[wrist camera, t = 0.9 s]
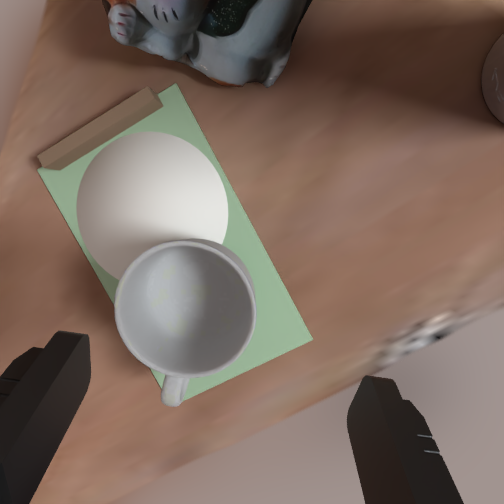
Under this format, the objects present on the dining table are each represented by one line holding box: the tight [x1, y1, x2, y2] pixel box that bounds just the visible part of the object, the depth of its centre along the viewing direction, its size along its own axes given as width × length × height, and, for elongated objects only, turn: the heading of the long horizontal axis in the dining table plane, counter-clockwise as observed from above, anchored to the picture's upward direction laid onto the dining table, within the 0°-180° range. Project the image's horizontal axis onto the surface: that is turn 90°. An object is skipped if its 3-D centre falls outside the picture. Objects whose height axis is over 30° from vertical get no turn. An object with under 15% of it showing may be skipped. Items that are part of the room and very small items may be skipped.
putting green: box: [37, 83, 313, 401], centre depth 33 cm, size 16×27×2 cm, turn 28°
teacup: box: [114, 238, 257, 407], centre depth 31 cm, size 14×11×8 cm
